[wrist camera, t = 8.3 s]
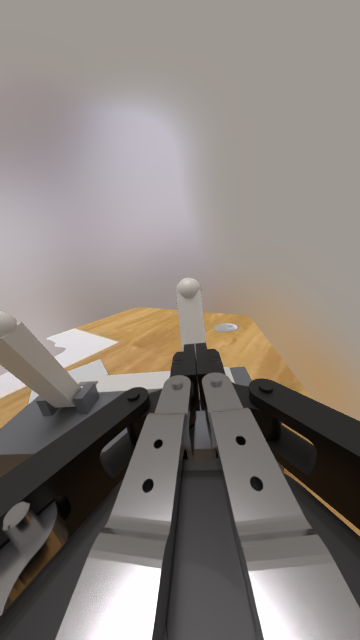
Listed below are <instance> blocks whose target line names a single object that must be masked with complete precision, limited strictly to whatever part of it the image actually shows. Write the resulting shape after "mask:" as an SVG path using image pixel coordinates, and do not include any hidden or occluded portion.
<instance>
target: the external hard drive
mask: <svg viewBox="0 0 360 640" xmlns="http://www.w3.org/2000/svg"><path fill="white" fill-rule="evenodd" d="M68 373H69V375H70V376H71V377H72V378H79V377H93V376H107V375H108V373H107V371H106V369H105V367H104V365H103V363H102V361H101V359H99V360H97V361H94V362H91V363H89V364H86V365H83V366H81V367H78V368H75V369H73V370H70V371H68ZM37 396H39V395H38V394H37V393H36V392H34V391H33V390H32V391H31V395H30V399H29V403H31V402H32V401H33V400H34V399H35V398H36V397H37ZM29 403H28V404H29Z"/></svg>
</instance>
